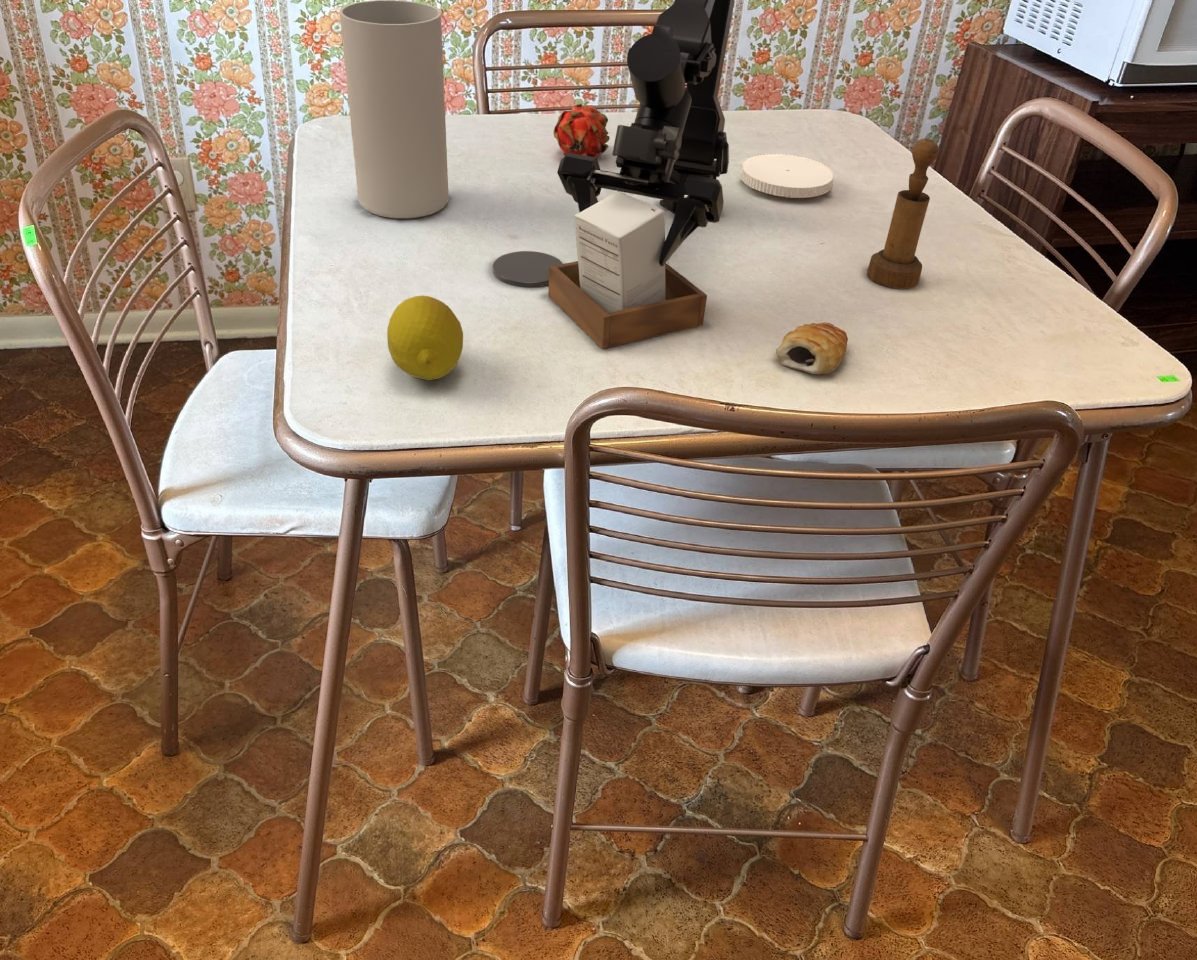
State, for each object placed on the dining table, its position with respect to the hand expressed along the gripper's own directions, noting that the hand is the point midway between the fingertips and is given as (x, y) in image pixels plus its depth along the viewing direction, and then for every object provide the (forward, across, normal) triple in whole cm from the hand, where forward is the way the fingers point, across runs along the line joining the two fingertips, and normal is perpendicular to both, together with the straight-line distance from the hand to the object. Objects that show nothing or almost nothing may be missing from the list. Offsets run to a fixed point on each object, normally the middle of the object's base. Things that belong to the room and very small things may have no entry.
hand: (621, 256), depth 112 cm
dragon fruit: (-29, -21, +39) cm, 53 cm away
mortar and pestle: (-13, +30, +23) cm, 40 cm away
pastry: (+6, +23, +5) cm, 24 cm away
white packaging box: (+4, 0, +6) cm, 7 cm away
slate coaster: (0, -14, +10) cm, 17 cm away
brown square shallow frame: (+4, 0, +7) cm, 8 cm away
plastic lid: (-31, +12, +40) cm, 52 cm away
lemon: (+20, -15, -8) cm, 26 cm away
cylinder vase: (-8, -38, +19) cm, 43 cm away
